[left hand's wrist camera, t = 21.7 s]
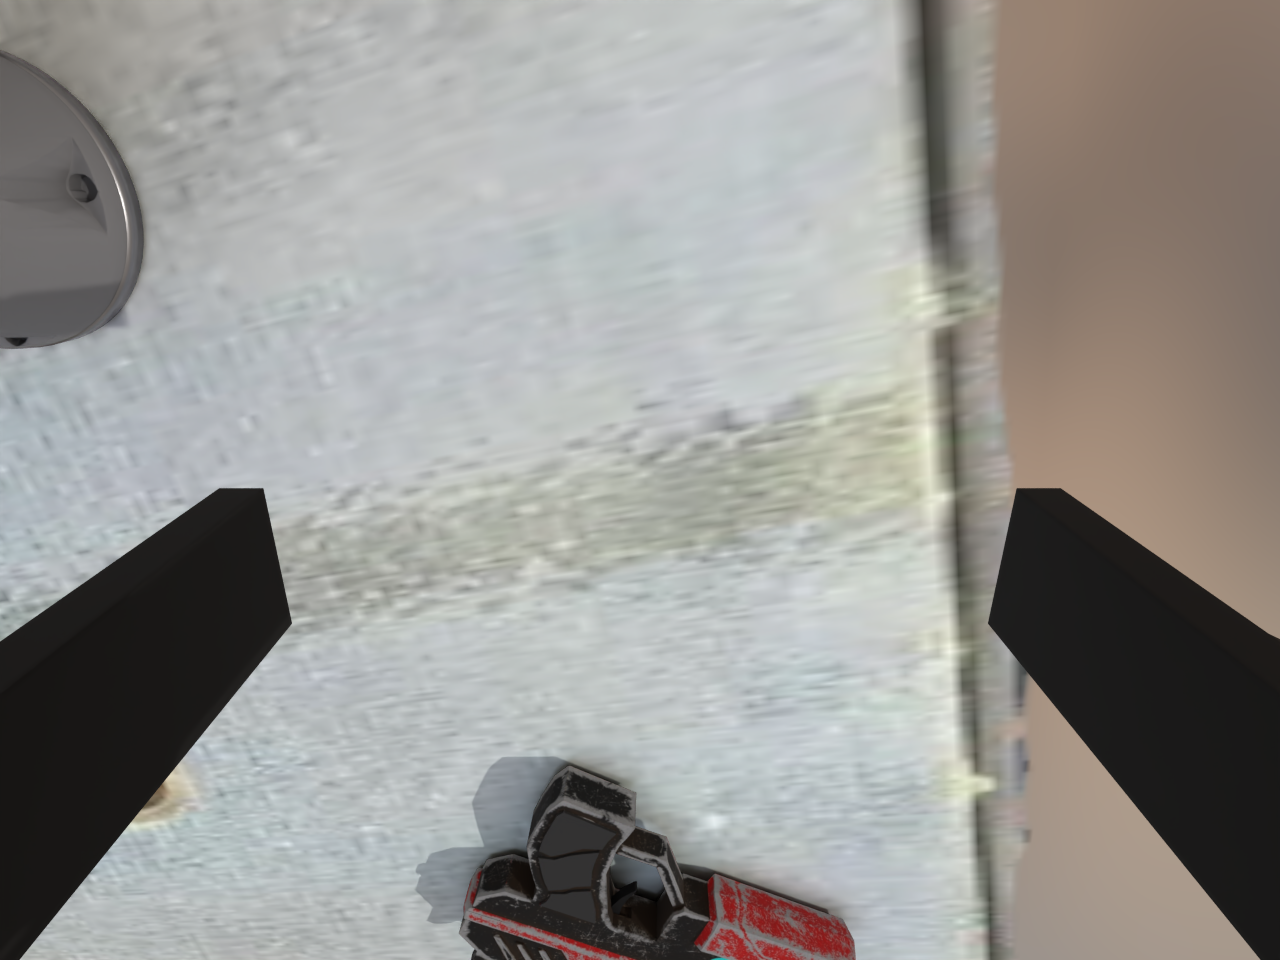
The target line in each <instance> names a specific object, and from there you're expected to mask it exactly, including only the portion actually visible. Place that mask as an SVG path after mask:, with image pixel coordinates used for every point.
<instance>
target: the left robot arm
mask: <svg viewBox="0 0 1280 960" xmlns="http://www.w3.org/2000/svg"><path fill="white" fill-rule="evenodd" d="M143 245H144V244H143V224H142V216H141V211H140V206H139V201H138V198H137V195H136V191H135V188H134V185H133V183H132V180H131V177H130V175H129V172H128V170H127V168H126V166H125V164H124V162H123V160H122V158H121V156H120V154H119V152H118V151H117V149H116V147H115V146H114V144H113V142H112V141H111V139H110V138H109V136H108V135H107V133H106V132H105V131H104V129H103V128H102V126H101V125H100V124H99V123H98V121H97V120H96V119H95V118H94V116H93V115H92V114H91V113H90V112H89V111H88V110H87V109H86V108H85V107H84V105H83V104H82V103H81V102H80V101H79V100H78V99H77V98H76V97H74V96H73V95H72V94H71V93H70V92H69V91H68V90H67V89H66V88H64V87H63V86H62V85H61V84H59V83H58V82H57V81H56V80H54V79H53V78H52V77H50V76H49V75H47V74H46V73H44V72H43V71H41V70H40V69H38V68H37V67H35V66H33V65H31V64H29V63H28V62H26V61H24V60H22V59H20V58H18V57H16V56H14V55H11V54H9V53H7V52H4V51H1V50H0V348H5V349H19V348H34V347H43V346H49V345H54V344H58V343H62V342H66V341H70V340H73V339H77V338H80V337H82V336H85V335H87V334H90V333H92V332H93V331H95V330H97V329H99V328H100V327H102V326H103V325H104V324H106V323H107V322H108V321H110V320H111V319H112V318H113V317H114V316H115V315H116V314H117V313H118V312H119V311H120V309H121V308H122V307H123V306H124V304H125V303H126V301H127V300H128V298H129V296H130V295H131V293H132V291H133V289H134V286H135V284H136V282H137V278H138V275H139V272H140V268H141V263H142V257H143ZM291 624H292V621H291V616H290V612H289V607H288V602H287V598H286V593H285V588H284V584H283V579H282V574H281V569H280V565H279V560H278V555H277V551H276V546H275V541H274V536H273V532H272V527H271V522H270V518H269V513H268V508H267V504H266V499H265V494H264V489H263V488H219V489H218V490H216V491H215V492H213V493H212V494H211V495H209V496H208V497H206V498H205V499H203V500H202V501H201V502H199V503H198V504H196V505H195V506H193V507H192V508H191V509H189V510H188V511H186V512H185V513H183V514H182V515H181V516H179V517H178V518H176V519H175V520H173V521H172V522H171V523H169V524H168V525H166V526H165V527H163V528H162V529H161V530H159V531H158V532H156V533H155V534H153V535H152V536H151V537H149V538H148V539H146V540H145V541H143V542H142V543H141V544H139V545H138V546H136V547H135V548H133V549H132V550H131V551H129V552H128V553H126V554H125V555H123V556H122V557H120V558H119V559H118V560H116V561H115V562H113V563H112V564H110V565H109V566H108V567H106V568H105V569H103V570H102V571H100V572H99V573H98V574H96V575H95V576H93V577H92V578H90V579H89V580H88V581H86V582H85V583H83V584H82V585H80V586H79V587H78V588H76V589H75V590H73V591H72V592H70V593H69V594H68V595H66V596H65V597H63V598H62V599H60V600H59V601H58V602H56V603H55V604H53V605H52V606H50V607H49V608H48V609H46V610H45V611H43V612H42V613H40V614H39V615H38V616H36V617H35V618H33V619H32V620H30V621H29V622H28V623H26V624H25V625H23V626H22V627H20V628H19V629H18V630H16V631H15V632H13V633H12V634H10V635H9V636H8V637H6V638H5V639H3V640H2V641H0V960H20V958H21V957H22V956H23V955H24V953H25V952H26V951H27V950H28V949H29V947H30V946H31V945H32V944H33V942H34V941H35V940H36V939H37V937H38V936H39V935H40V934H41V932H42V931H43V930H44V929H45V928H46V926H47V925H48V924H49V923H50V921H51V920H52V919H53V918H54V916H55V915H56V914H57V913H58V912H59V910H60V909H61V908H62V907H63V905H64V904H65V903H66V902H67V900H68V899H69V898H70V897H71V895H72V894H73V893H74V892H75V891H76V889H77V888H78V887H79V886H80V884H81V883H82V882H83V881H84V879H85V878H86V877H87V876H88V875H89V873H90V872H91V871H92V870H93V868H94V867H95V866H96V865H97V863H98V862H99V861H100V860H101V858H102V857H103V856H104V855H105V854H106V852H107V851H108V850H109V849H110V847H111V846H112V845H113V844H114V842H115V841H116V840H117V839H118V837H119V836H120V835H121V834H122V833H123V831H124V830H125V829H126V828H127V826H128V825H129V824H130V823H131V821H132V820H133V819H134V818H135V817H136V815H137V814H138V813H139V812H140V810H141V809H142V808H143V807H144V805H145V804H146V803H147V802H148V800H149V799H150V798H151V797H152V796H153V794H154V793H155V792H156V791H157V789H158V788H159V787H160V786H161V784H162V783H163V782H164V781H165V780H166V778H167V777H168V776H169V775H170V773H171V772H172V771H173V770H174V768H175V767H176V766H177V765H178V763H179V762H180V761H181V760H182V759H183V757H184V756H185V755H186V754H187V752H188V751H189V750H190V749H191V747H192V746H193V745H194V744H195V742H196V741H197V740H198V739H199V738H200V736H201V735H202V734H203V733H204V731H205V730H206V729H207V728H208V726H209V725H210V724H211V723H212V722H213V720H214V719H215V718H216V717H217V715H218V714H219V713H220V712H221V710H222V709H223V708H224V707H225V705H226V704H227V703H228V702H229V701H230V699H231V698H232V697H233V696H234V694H235V693H236V692H237V691H238V689H239V688H240V687H241V686H242V685H243V683H244V682H245V681H246V680H247V678H248V677H249V676H250V675H251V673H252V672H253V671H254V670H255V668H256V667H257V666H258V665H259V664H260V662H261V661H262V660H263V659H264V657H265V656H266V655H267V654H268V652H269V651H270V650H271V649H272V647H273V646H274V645H275V644H276V643H277V641H278V640H279V639H280V638H281V636H282V635H283V634H284V633H285V631H286V630H287V629H288V628H289V627H290V625H291ZM988 624H989V625H990V627H991V628H992V629H993V630H994V631H995V633H996V634H997V635H998V636H999V638H1000V639H1001V640H1002V641H1003V643H1004V644H1005V645H1006V646H1007V648H1008V649H1009V650H1010V651H1011V652H1012V654H1013V655H1014V656H1015V657H1016V659H1017V660H1018V661H1019V662H1020V664H1021V665H1022V666H1023V667H1024V668H1025V670H1026V671H1027V672H1028V673H1029V675H1030V676H1031V677H1032V678H1033V680H1034V681H1035V682H1036V683H1037V685H1038V686H1039V687H1040V688H1041V689H1042V691H1043V692H1044V693H1045V694H1046V696H1047V697H1048V698H1049V699H1050V701H1051V702H1052V703H1053V704H1054V705H1055V707H1056V708H1057V709H1058V710H1059V712H1060V713H1061V714H1062V715H1063V717H1064V718H1065V719H1066V720H1067V722H1068V723H1069V724H1070V725H1071V726H1072V728H1073V729H1074V730H1075V731H1076V733H1077V734H1078V735H1079V736H1080V738H1081V739H1082V740H1083V741H1084V742H1085V744H1086V745H1087V746H1088V747H1089V749H1090V750H1091V751H1092V752H1093V754H1094V755H1095V756H1096V757H1097V759H1098V760H1099V761H1100V762H1101V763H1102V765H1103V766H1104V767H1105V768H1106V770H1107V771H1108V772H1109V773H1110V775H1111V776H1112V777H1113V778H1114V780H1115V781H1116V782H1117V783H1118V784H1119V786H1120V787H1121V788H1122V789H1123V791H1124V792H1125V793H1126V794H1127V795H1128V797H1129V798H1130V799H1131V800H1132V802H1133V803H1134V804H1135V805H1136V807H1137V808H1138V809H1139V810H1140V812H1141V813H1142V814H1143V815H1144V817H1145V818H1146V819H1147V820H1148V821H1149V823H1150V824H1151V825H1152V826H1153V828H1154V829H1155V830H1156V831H1157V833H1158V834H1159V835H1160V836H1161V837H1162V839H1163V840H1164V841H1165V842H1166V844H1167V845H1168V846H1169V847H1170V849H1171V850H1172V851H1173V852H1174V854H1175V855H1176V856H1177V857H1178V858H1179V860H1180V861H1181V862H1182V863H1183V865H1184V866H1185V867H1186V868H1187V870H1188V871H1189V872H1190V873H1191V875H1192V876H1193V877H1194V878H1195V879H1196V881H1197V882H1198V883H1199V884H1200V886H1201V887H1202V888H1203V889H1204V890H1205V892H1206V893H1207V894H1208V895H1209V897H1210V898H1211V899H1212V900H1213V902H1214V903H1215V904H1216V905H1217V907H1218V908H1219V909H1220V910H1221V912H1222V913H1223V914H1224V915H1225V916H1226V918H1227V919H1228V920H1229V921H1230V923H1231V924H1232V925H1233V926H1234V928H1235V929H1236V930H1237V931H1238V932H1239V934H1240V935H1241V936H1242V937H1243V939H1244V940H1245V941H1246V942H1247V943H1248V945H1249V946H1250V947H1251V948H1252V950H1253V951H1254V952H1255V953H1256V955H1257V956H1258V957H1259V958H1260V960H1280V639H1278V638H1276V637H1274V636H1272V635H1270V634H1268V633H1267V632H1265V631H1264V630H1262V629H1261V628H1259V627H1258V626H1257V625H1255V624H1254V623H1252V622H1251V621H1250V620H1248V619H1247V618H1245V617H1244V616H1242V615H1241V614H1240V613H1238V612H1237V611H1235V610H1234V609H1232V608H1231V607H1230V606H1228V605H1227V604H1225V603H1224V602H1222V601H1221V600H1219V599H1218V598H1217V597H1215V596H1214V595H1212V594H1211V593H1210V592H1208V591H1207V590H1205V589H1204V588H1202V587H1201V586H1200V585H1198V584H1197V583H1195V582H1194V581H1192V580H1191V579H1189V578H1188V577H1187V576H1185V575H1184V574H1182V573H1181V572H1179V571H1178V570H1177V569H1175V568H1174V567H1172V566H1171V565H1170V564H1168V563H1167V562H1165V561H1164V560H1162V559H1161V558H1160V557H1158V556H1157V555H1155V554H1154V553H1152V552H1151V551H1149V550H1148V549H1147V548H1145V547H1144V546H1142V545H1141V544H1139V543H1138V542H1137V541H1135V540H1134V539H1132V538H1131V537H1129V536H1128V535H1127V534H1125V533H1124V532H1122V531H1121V530H1119V529H1118V528H1117V527H1115V526H1114V525H1112V524H1111V523H1109V522H1108V521H1107V520H1105V519H1104V518H1102V517H1101V516H1099V515H1098V514H1097V513H1095V512H1094V511H1092V510H1091V509H1089V508H1088V507H1087V506H1085V505H1084V504H1082V503H1081V502H1079V501H1078V500H1077V499H1075V498H1074V497H1072V496H1071V495H1069V494H1068V493H1067V492H1065V491H1064V490H1062V489H1061V488H1017V489H1016V494H1015V499H1014V504H1013V508H1012V513H1011V518H1010V522H1009V527H1008V532H1007V536H1006V541H1005V546H1004V551H1003V555H1002V560H1001V565H1000V569H999V574H998V579H997V584H996V588H995V593H994V598H993V602H992V607H991V612H990V616H989V621H988Z"/></svg>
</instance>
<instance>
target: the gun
mask: <svg viewBox="0 0 1280 960" xmlns="http://www.w3.org/2000/svg"><path fill="white" fill-rule="evenodd" d="M635 811H636V792H633V791H631V790H628V789H626V788H623V787H621V786H618V785H616V784H613V783H611V782H608V781H606V780H603V779H601V778H598V777H596V776H593V775H591V774H589V773H586V772H584V771H581V770H579V769H576V768H574V767H572V766H567V767H566V768H564V769H563V770H562V771H560V772H559V773H558V774H556V775H555V776H554V778H553V779H552V780H551V782H550V783H549V785H548V786H547V788H546V790H545V791H544V793H543V794H542V796H541V798H540V800H539V802H538V804H537V806H536V807H535V809H534V813H533V818H532V822H531V827H530V832H529V837H528V842H527V852H528V857H529V859H527V858H524V857H521V856H518V855H515V854H510V855H506V856H501V857H497V858H492V859H488V860H487V861H486V863H485V864H484V866H483V868H478V869H477V870H476V872H475V874H474V875H473V877H472V879H471V881H470V884H469V888H468V891H467V895H466V899H465V903H464V907H463V910H464V916H463V920H462V923H461V927H460V931H459V934H460V935H461V936H462V937H463V938H464V939H465V940H466V941H467V942H468V943H469V944H470V945H471V946H472V947H473V948H474V949H475V950H474V951H473V954H472V958H471V960H856V956H855V945H854V940H853V938H852V936H851V934H850V932H849V930H848V928H847V926H846V924H845V923H844V921H843V919H840V918H838V917H835V916H832V915H829V914H826V913H824V912H821V911H818V910H815V909H813V908H810V907H807V906H804V905H801V904H799V903H796V902H793V901H790V900H787V899H785V898H782V897H779V896H776V895H773V894H771V893H768V892H765V891H762V890H759V889H757V888H754V887H751V886H748V885H745V884H743V883H740V882H737V881H734V880H731V879H729V878H726V877H723V876H721V875H718V874H715V873H714V875H713V876H712V877H711V878H710V879H709V880H708V881H704V880H701V879H698V878H695V877H693V876H690V875H687V874H684V873H683V874H681V872H680V870H679V867H678V865H677V862H676V860H675V857H674V854H673V852H672V849H671V847H670V844H669V842H668V839H667V837H666V836H663V835H660V834H657V833H654V832H651V831H648V830H645V829H642V828H639V827H637V826H635ZM615 853H616V854H619V855H622V856H625V857H628V858H631V859H634V860H637V861H640V862H643V863H646V864H649V865H652V866H655V867H657V870H658V872H659V875H660V877H661V879H662V882H663V884H664V887H665V890H664V892H663V893H662V895H661V896H660V898H659V899H658V901H657V902H655V901H652V900H649V899H646V898H643V897H640V896H637V895H634V893H636V890H637V882H636V881H635V882H633V883H631V884H629V885H627V886H625V887H623V888H622V889H620V890H619V889H616V888H615V887H614V884H613V882H612V879H611V876H610V865H611V862H612V860H613V858H614V855H615Z"/></svg>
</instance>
